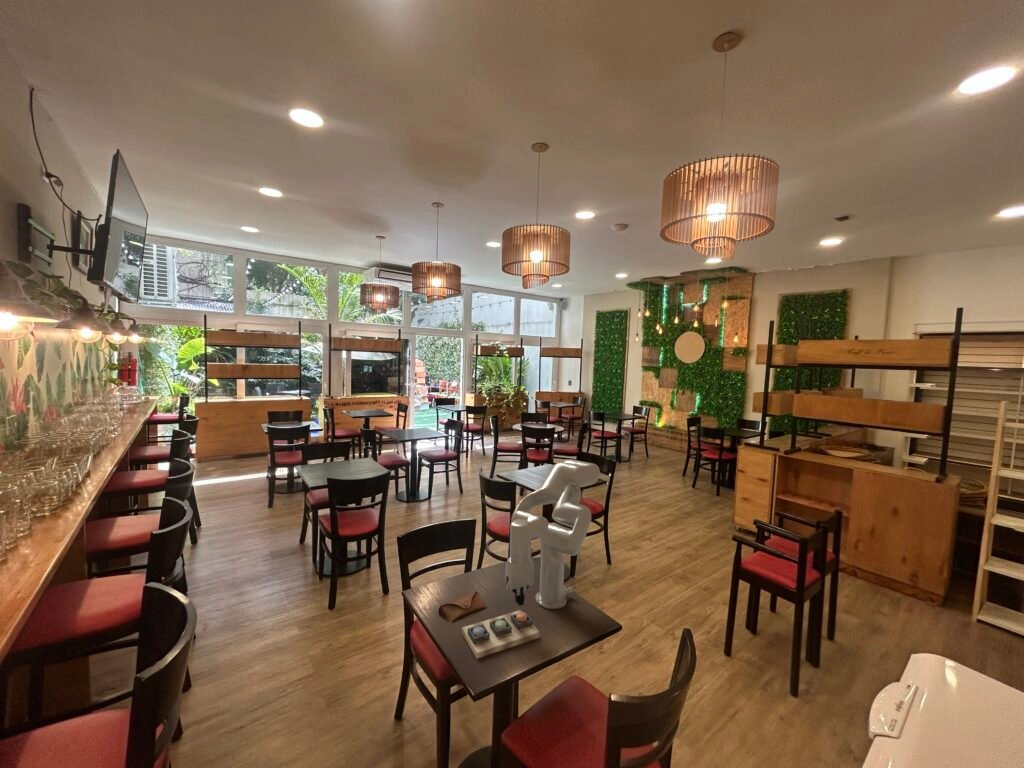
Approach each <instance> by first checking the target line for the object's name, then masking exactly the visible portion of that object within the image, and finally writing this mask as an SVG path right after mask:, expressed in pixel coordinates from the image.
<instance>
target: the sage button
mask: <svg viewBox="0 0 1024 768" xmlns="http://www.w3.org/2000/svg"><path fill="white" fill-rule="evenodd" d="M495 627H496V628H497V630H500V629H503V628H506V622H505V621H503V620H498V621H496V622H495Z"/></svg>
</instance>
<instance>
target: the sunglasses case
mask: <svg viewBox="0 0 1024 768" xmlns="http://www.w3.org/2000/svg"><path fill="white" fill-rule="evenodd" d="M487 608H488V606H487V605H485V602H484V601H483V599H482V598H481V595H480V594H479V591H475V592H472V593H471V594H467V595H465V596H463V597H460V598H456V599H455V600H452V601H450V602H448V603H447V602H446V603H443V604H442V605H440V606H439V607H438V614H439V615H440V616H441V617H442V619H443V618H444V620H445V621H447V623H448V624H452V623H454V622H456V621H457V620H458V621H459V620H460V619H462V618H464V617H466V616H469V615H471V614H474V613H476V612H479V611H481V610H485V609H487Z"/></svg>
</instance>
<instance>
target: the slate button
mask: <svg viewBox="0 0 1024 768" xmlns="http://www.w3.org/2000/svg"><path fill="white" fill-rule="evenodd" d="M473 635H474V636H475V637H477V636H481V635H484V628H483V627H475V628H474V629H473Z"/></svg>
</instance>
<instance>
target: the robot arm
mask: <svg viewBox="0 0 1024 768" xmlns="http://www.w3.org/2000/svg"><path fill="white" fill-rule="evenodd" d="M600 475H601V469H600V467H599V466H598V465H597V464H596V463H593V462H587V461H581V460H577V459H572V458H571V459H569V458H568V459H564V460H563V461H559V462H556V463H555V464H554V465H553V466H552V469H551V470H550V472H549V474H548V475H547V477H546V479H545V480H544V481H543V483H542V485H541V486H540V488H538V489H536V490H534V491H532V492H530V493H528V494H527V495H526V496H524V497H523V498H522V499H521V500H520V501H519V503H518V504H517V506H516V508H515V509H514V511H513V513H512V514H511V520H510V525H509V557H508V558H507V561H506V564H505V572H504V583H505V585H506V588H505V590H506V592H507V593H514V601H515V603H516V604H517V605H518V606H519V607H521V606H524V605H525V595H526V593H527V590H528V589H529V588H530V587H532V586H533V585H534V584H535V583H534V582H535V567H534V560H533V557H532V554H533V553H534V549H533V548H532V540H534V539H539V540H538V541H539V546H540V570H539V572H540V573H539V591H538V592H537V593H536V594H535V602H536V603H537V604H538V605H539V606H540V607H541V608H544V609H548V610H557V609H558V610H559V609H561V608H563V607H565V606H566V604H567V596H566V595H567V594H571V593H573V591H574V590H573V588H572V587H571V586H570V587H567V586H566V585H564V580H565V579H564V577H565V574H564V573H565V556H564V554H565V555H568V556H573V557H574V556H576V555H578V554H579V553H580V550H581V549H582V546H583V544H584V542H585V539H586V536H587V534H588V531H589V528H590V525H591V522H592V512H591V510H590V508H589V507H587V506H586V505H583V504H580V501H581V498H582V491H581V488H584V487H587V486H592V485H594V484H596V483H597V482H598V480H599V478H600ZM550 504H555V506H554V508H553V511H552V518H553V520H554V521H555V522H556V523H552V522H549V520H548V519H547V518H546V517H544V516H542V515H539V514H536V513H533V512H531V511H532V510H533V509H534V508H536V507H540V506H544V505H545V506H546V505H550ZM557 523H558V524H557ZM559 524H560V525H559ZM566 526H567V527H566ZM569 527H570V528H569ZM569 589H570V590H569Z"/></svg>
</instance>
